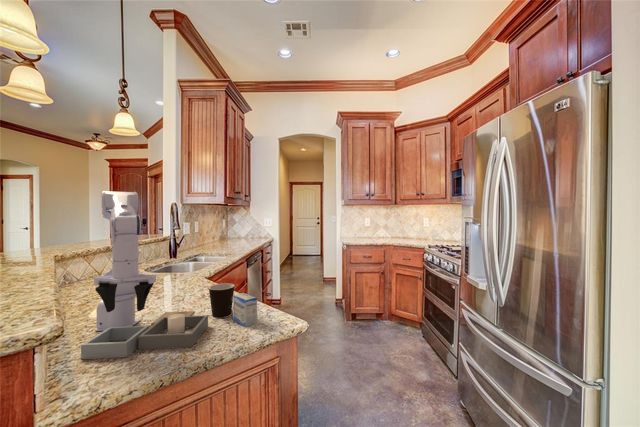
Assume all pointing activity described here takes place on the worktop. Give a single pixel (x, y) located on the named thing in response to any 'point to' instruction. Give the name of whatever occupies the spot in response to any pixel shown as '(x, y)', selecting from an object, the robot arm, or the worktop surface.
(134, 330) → the slate bin
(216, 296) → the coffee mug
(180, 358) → the worktop surface
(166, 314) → the tan board
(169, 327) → the cream capsule
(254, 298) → the medicine box
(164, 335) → the charcoal bin
